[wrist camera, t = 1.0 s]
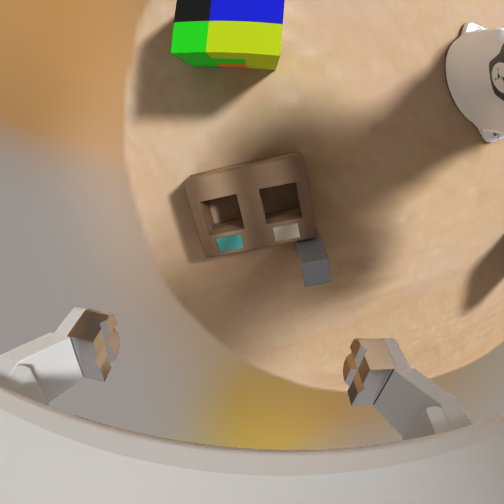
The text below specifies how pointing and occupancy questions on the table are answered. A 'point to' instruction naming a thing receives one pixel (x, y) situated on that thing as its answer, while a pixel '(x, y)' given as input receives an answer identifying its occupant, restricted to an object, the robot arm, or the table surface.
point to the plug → (313, 261)
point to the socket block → (251, 205)
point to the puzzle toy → (228, 33)
